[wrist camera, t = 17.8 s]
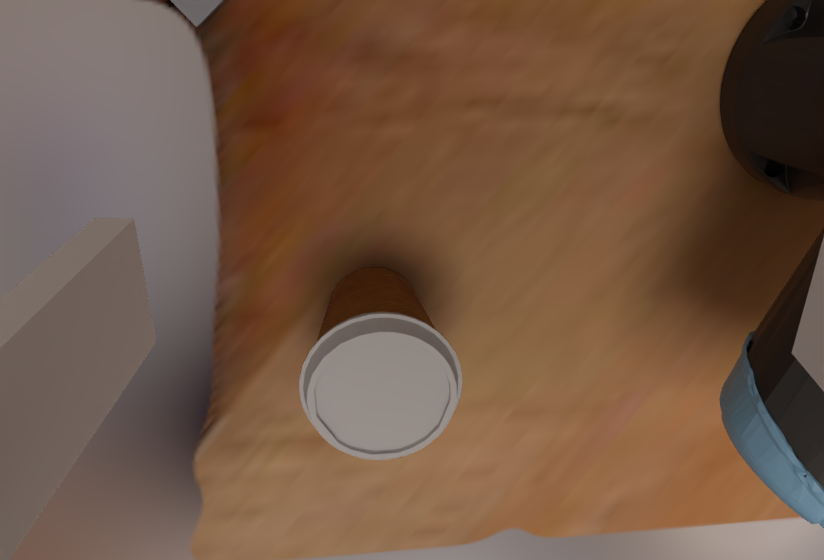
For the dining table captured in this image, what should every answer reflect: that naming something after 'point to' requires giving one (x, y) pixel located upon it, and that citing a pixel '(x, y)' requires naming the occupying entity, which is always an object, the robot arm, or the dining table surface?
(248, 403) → the dining table surface
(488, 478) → the dining table surface
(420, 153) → the dining table surface
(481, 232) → the dining table surface
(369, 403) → the disposable coffee cup
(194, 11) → the board
